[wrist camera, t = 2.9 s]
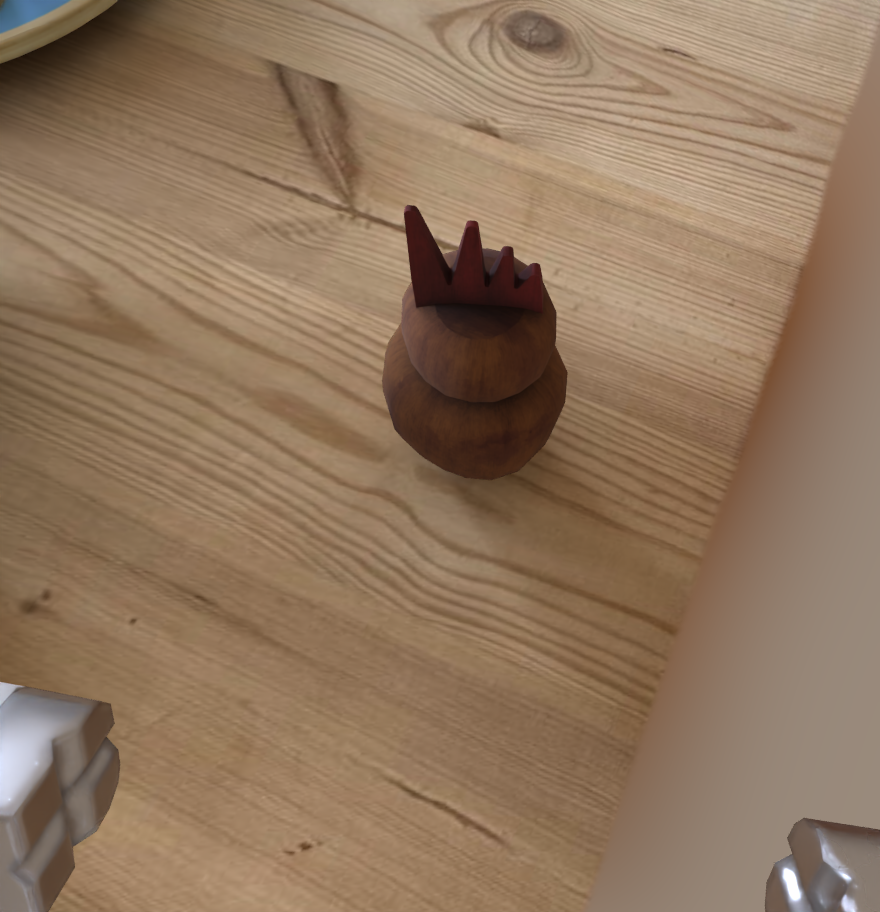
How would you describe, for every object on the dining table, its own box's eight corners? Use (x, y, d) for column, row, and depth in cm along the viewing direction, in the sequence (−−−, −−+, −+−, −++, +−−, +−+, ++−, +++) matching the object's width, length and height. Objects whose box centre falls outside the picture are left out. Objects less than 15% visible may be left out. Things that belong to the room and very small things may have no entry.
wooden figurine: (371, 452, 32) (306, 252, 17) (431, 345, 33) (417, 81, 19) (512, 520, 31) (566, 367, 16) (567, 406, 32) (660, 176, 18)
